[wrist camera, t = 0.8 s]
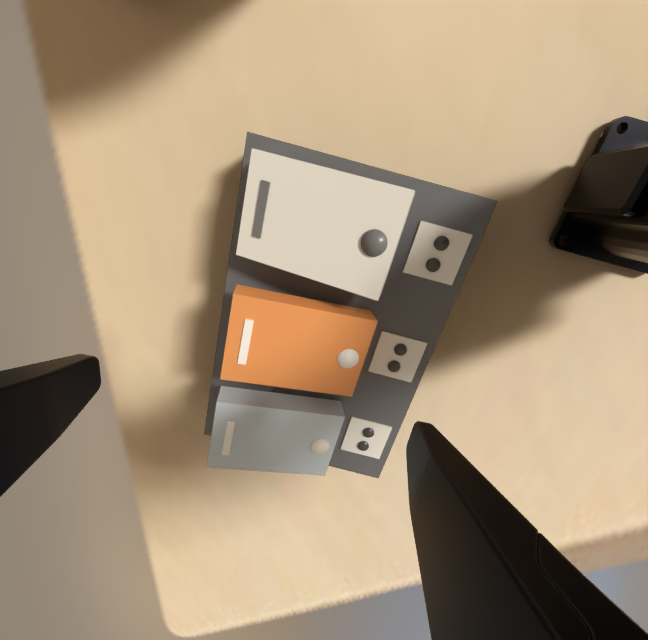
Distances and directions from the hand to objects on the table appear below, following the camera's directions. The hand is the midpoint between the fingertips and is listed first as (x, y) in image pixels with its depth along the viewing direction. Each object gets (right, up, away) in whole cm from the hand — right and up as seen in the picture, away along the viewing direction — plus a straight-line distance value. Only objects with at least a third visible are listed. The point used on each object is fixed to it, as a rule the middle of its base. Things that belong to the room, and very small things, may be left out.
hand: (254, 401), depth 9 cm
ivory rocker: (+2, +7, +6) cm, 9 cm away
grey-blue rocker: (-1, -4, +10) cm, 11 cm away
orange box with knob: (+1, +1, +8) cm, 8 cm away
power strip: (+2, +2, +12) cm, 12 cm away
